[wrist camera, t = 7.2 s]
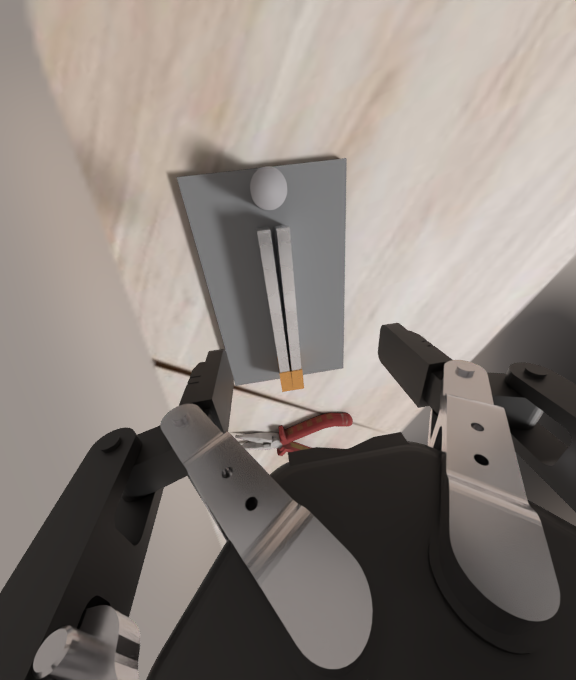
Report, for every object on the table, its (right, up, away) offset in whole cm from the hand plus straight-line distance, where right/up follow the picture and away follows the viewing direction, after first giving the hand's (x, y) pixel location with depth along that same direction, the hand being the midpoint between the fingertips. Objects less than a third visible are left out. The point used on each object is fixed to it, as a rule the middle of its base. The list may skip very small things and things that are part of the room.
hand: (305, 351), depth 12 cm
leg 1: (-2, +4, +17) cm, 17 cm away
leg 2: (-1, +4, +17) cm, 17 cm away
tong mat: (-2, +6, +17) cm, 18 cm away
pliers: (+1, -15, +30) cm, 34 cm away
